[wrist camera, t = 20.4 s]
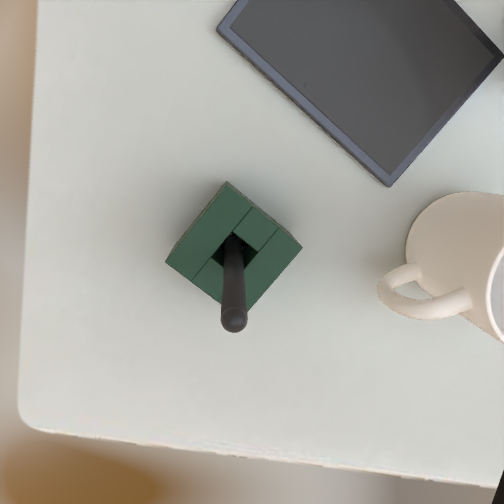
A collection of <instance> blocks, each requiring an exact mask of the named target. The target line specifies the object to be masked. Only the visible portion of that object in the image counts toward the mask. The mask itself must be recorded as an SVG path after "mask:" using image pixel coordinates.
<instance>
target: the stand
mask: <svg viewBox="0 0 504 504" xmlns="http://www.w3.org/2000/svg"><path fill="white" fill-rule="evenodd" d="M232 231H233V233H235V234H236V235H237V236H238V237H240V238H241V239H242V240H243V241H245V242H246V243H247V244H248V246H247V247H246V249H245V250H244V251H243V262H244V276H245V289H246V303H247V312H248V311H249V310H250V308H251V307H252V306H253V305H254V304H255V303H256V302H257V300H258V299H259V298H260V297H261V296H262V295H263V293H264V292H265V291H266V290H267V289H268V288H269V286H270V285H271V284H272V283H273V282H274V281H275V279H276V278H277V277H278V276H279V275H280V274H281V272H282V271H283V270H284V269H285V268H286V267H287V266H288V264H289V263H290V262H291V261H292V260H293V259H294V257H295V256H296V255H297V254H298V253H299V252H300V250H301V249H302V248H303V247H302V246H301V245H300V244H299V243H298V241H297V240H296V239H295V238H294V237H293V236H292V235H291V234H290V233H289V232H288V231H287V230H285V229H284V228H283V227H282V226H281V225H279V224H278V223H277V222H276V221H275V220H273V219H272V218H271V217H270V216H269V215H267V214H266V213H265V212H264V211H262V210H261V209H260V208H259V207H258V206H256V205H255V204H254V203H253V202H252V201H250V200H249V199H248V198H247V197H246V196H244V195H243V194H242V193H241V192H240V191H238V190H237V189H236V188H235V187H234V186H232V185H231V184H230V183H229V182H226V183H225V184H224V185H223V186H222V188H221V189H220V190H219V191H218V193H217V194H216V195H215V196H214V198H213V199H212V200H211V201H210V203H209V204H208V205H207V206H206V208H205V209H204V210H203V211H202V213H201V214H200V215H199V216H198V217H197V219H196V220H195V221H194V222H193V224H192V225H191V226H190V227H189V229H188V230H187V231H186V232H185V234H184V235H183V236H182V237H181V239H180V240H179V241H178V242H177V244H176V245H175V246H174V247H173V249H172V251H171V253H170V254H169V256H168V258H167V259H166V261H165V262H166V263H167V264H168V265H170V266H171V267H172V268H174V269H175V270H176V271H178V272H179V273H180V274H182V275H183V276H184V277H186V278H187V279H188V280H190V281H191V282H192V283H193V284H195V285H196V286H197V287H199V288H200V289H201V290H203V291H204V292H205V293H207V294H208V295H209V296H211V297H212V298H213V299H215V300H216V301H218V302H219V303H220V304H222V288H223V271H224V253H225V252H223V251H222V250H221V249H219V246H220V245H221V244H222V243H223V242H224V240H225V239H226V238H227V237H228V236H229V234H230V233H231V232H232Z"/></svg>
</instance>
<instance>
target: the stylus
mask: <svg viewBox="0 0 504 504" xmlns="http://www.w3.org/2000/svg"><path fill="white" fill-rule="evenodd" d="M247 320H248V317H247V303H246V289H245V276H244V262H243V248H242V241H241V239H240V238H239V237H237V236H230V237H228V238H227V240H226V242H225V253H224V271H223V288H222V306H221V324H222V326H223V327H224V329H225V330H227V331H229V332H232V333H236V332H240V331H241V330H243V329H244V328H245V326H246V324H247Z"/></svg>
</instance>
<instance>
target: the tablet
mask: <svg viewBox="0 0 504 504" xmlns="http://www.w3.org/2000/svg"><path fill="white" fill-rule="evenodd" d="M216 31H217V32H218V33H219V34H220V35H221V36H222V37H223V38H224V39H225V40H226V41H227V42H229V43H230V44H231V45H232V46H233V47H234V48H235V49H236V50H237V51H238V52H240V53H241V54H242V55H243V56H244V57H245V58H246V59H247V60H248V61H249V62H250V63H252V64H253V65H254V66H255V67H256V68H257V69H258V70H259V71H260V72H261V73H263V74H264V75H265V76H266V77H267V78H268V79H269V80H270V81H271V82H272V83H273V84H275V85H276V86H277V87H278V88H279V89H280V90H281V91H282V92H283V93H284V94H286V95H287V96H288V97H289V98H290V99H291V100H292V101H293V102H294V103H295V104H296V105H298V106H299V107H300V108H301V109H302V110H303V111H304V112H305V113H306V114H307V115H309V116H310V117H311V118H312V119H313V120H314V121H315V122H316V123H317V124H318V125H319V126H321V127H322V128H323V129H324V130H325V131H326V132H327V133H328V134H329V135H330V136H331V137H333V138H334V139H335V140H336V141H337V142H338V143H339V144H340V145H341V146H342V147H344V148H345V149H346V150H347V151H348V152H349V153H350V154H351V155H352V156H353V157H354V158H356V159H357V160H358V161H359V162H360V163H361V164H362V165H363V166H364V167H365V168H367V169H368V170H369V171H370V172H371V173H372V174H373V175H374V176H375V177H376V178H377V179H379V180H380V181H381V182H382V183H383V184H384V185H385V186H386V187H391V186H392V185H393V183H394V182H395V181H396V180H397V179H398V178H399V177H400V176H401V174H402V173H403V172H404V171H405V170H406V169H407V168H408V166H409V165H410V164H411V163H412V162H413V161H414V160H415V158H416V157H417V156H418V155H419V154H420V153H421V152H422V150H423V149H424V148H425V147H426V146H427V145H428V144H429V142H430V141H431V140H432V139H433V138H434V137H435V136H436V134H437V133H438V132H439V131H440V130H441V129H442V128H443V126H444V125H445V124H446V123H447V122H448V121H449V120H450V118H451V117H452V116H453V115H454V114H455V113H456V112H457V111H458V109H459V108H460V107H461V106H462V105H463V104H464V103H465V101H466V100H467V99H468V98H469V97H470V96H471V95H472V93H473V92H474V91H475V90H476V89H477V88H478V87H479V85H480V84H481V83H482V82H483V81H484V80H485V79H486V77H487V76H488V75H489V74H490V73H491V72H492V71H493V69H494V68H495V67H496V66H497V65H498V64H499V63H500V61H501V60H502V59H503V58H504V54H503V53H502V52H501V51H500V50H499V49H498V47H497V46H496V45H495V44H494V43H493V42H492V41H491V40H490V39H489V38H488V37H487V35H486V34H485V33H484V32H483V31H482V30H481V29H480V28H479V27H478V26H477V25H476V24H475V22H474V21H473V20H472V19H471V18H470V17H469V16H468V15H467V14H466V13H465V12H464V10H463V9H462V8H461V7H460V6H459V5H458V4H457V3H456V2H455V1H454V0H237V1H236V3H235V4H234V5H233V7H232V8H231V9H230V11H229V12H228V13H227V15H226V16H225V17H224V19H223V20H222V21H221V23H220V24H219V25H218V27H217V28H216Z"/></svg>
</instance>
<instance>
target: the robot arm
mask: <svg viewBox="0 0 504 504" xmlns="http://www.w3.org/2000/svg"><path fill="white" fill-rule="evenodd" d="M492 504H504V471H503V474H502V476H501V479H500V482H499V485H498V488H497V491H496V493H495V496H494V499H493V502H492Z"/></svg>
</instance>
